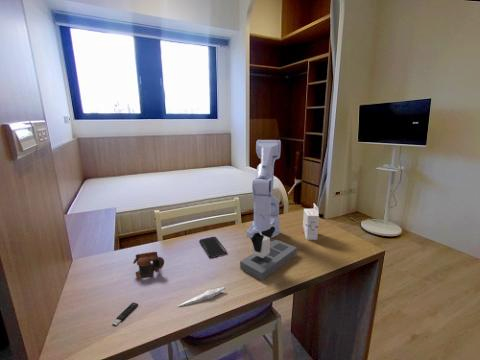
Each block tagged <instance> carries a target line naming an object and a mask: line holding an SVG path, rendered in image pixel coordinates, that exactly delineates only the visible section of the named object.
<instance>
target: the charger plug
mask: <svg viewBox="0 0 480 360" xmlns="http://www.w3.org/2000/svg"><path fill="white" fill-rule="evenodd" d="M260 235H261V234H260ZM263 236H264V235H263ZM270 243H271V240H270V237H267V236H264V238H263V240H262V245H261V251H260V253H259V252H256V251H255V250H254V246H253V245H252V254H255V255H257V256H259V257H261V258H263V257H265V256H266V255H268V254H269V253H270Z"/></svg>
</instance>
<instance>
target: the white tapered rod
mask: <svg viewBox="0 0 480 360" xmlns="http://www.w3.org/2000/svg"><path fill="white" fill-rule="evenodd" d="M225 289H226V287H225V286H222V287H218V288H217V287H216V288H215V289H213V288H212V289H207V290H206V291H204V292H203V293H201V294H199V295H197V296H194V297H193V298H191V299H188V300H186V301H185V302H183V303H181V304H179V305H177V307H178V308H179V307H182V306H186V305H190V304H194V303H195V304H196V303H199V302H202V301H204V300H210V299H213V298H214V297H216V296H218V295H219V294H222V293H224V291H225Z"/></svg>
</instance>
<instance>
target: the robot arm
mask: <svg viewBox="0 0 480 360" xmlns="http://www.w3.org/2000/svg"><path fill="white" fill-rule="evenodd" d="M281 143H282V142H281V140H280V139H278V140H277V139H257V140H256V144H255V152H256V155H257V157H258V159H260V163H259V164H258V165H257V167H256V172H255V178H254V179H253V181H252V183H251V184H252V187H251V191H252V201H253V221H251V227H250V228H249V229H248V230H246V237H247V238H249V239H250V240H251V242H252V247H253V246H254V250H255V251H256V252H259V253H260V251H261V245H262V240H263V238H264V236H267V237H270V241H271V239H273V238H275V237H277V236H278V235H280V234H281V233H282V232H281V230H280V229H281V227H280V226H281V222H280V221H281V220H280V217H279V215H280V200H279V198H277V197H276V196H274V174H275V173H274V171H275V169H274V168H275V161H276V160H279V159H280V157H281V149H282V148H281V147H282V144H281ZM260 234H261V235H260ZM263 235H264V236H263Z"/></svg>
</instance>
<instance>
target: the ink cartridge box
mask: <svg viewBox="0 0 480 360" xmlns="http://www.w3.org/2000/svg"><path fill="white" fill-rule="evenodd" d="M319 211H320V210H319V208H318V206H317V205H316V203H314V202H313V208H303V219H302V220H303V221H302V233H303V234H304V237H305V239H306V241H313V240H314V241H318V237H319V236H318V235H319V219H320V215H319V214H320V212H319Z"/></svg>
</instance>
